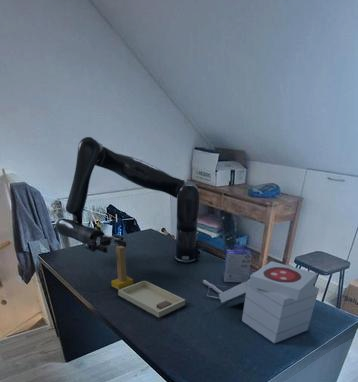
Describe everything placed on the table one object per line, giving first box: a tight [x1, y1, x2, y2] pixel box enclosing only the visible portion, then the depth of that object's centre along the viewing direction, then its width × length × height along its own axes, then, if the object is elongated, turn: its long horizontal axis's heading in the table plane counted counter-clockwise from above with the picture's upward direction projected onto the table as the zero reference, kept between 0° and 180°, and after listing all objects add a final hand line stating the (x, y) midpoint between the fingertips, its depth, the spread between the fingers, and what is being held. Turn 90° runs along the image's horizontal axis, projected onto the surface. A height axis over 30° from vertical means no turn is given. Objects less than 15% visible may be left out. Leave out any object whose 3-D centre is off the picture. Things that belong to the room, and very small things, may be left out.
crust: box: [157, 300, 172, 309], centre depth 116 cm, size 3×4×1 cm, turn 136°
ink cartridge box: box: [223, 244, 253, 284], centre depth 135 cm, size 10×6×14 cm, turn 89°
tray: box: [117, 280, 186, 318], centre depth 120 cm, size 22×13×3 cm, turn 46°
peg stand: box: [111, 245, 134, 291], centre depth 126 cm, size 4×7×16 cm, turn 136°
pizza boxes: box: [218, 260, 320, 344], centre depth 108 cm, size 19×30×18 cm, turn 32°
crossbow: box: [202, 279, 232, 299], centre depth 129 cm, size 16×13×2 cm
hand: (116, 247), depth 123 cm, fingers open, 8 cm apart
